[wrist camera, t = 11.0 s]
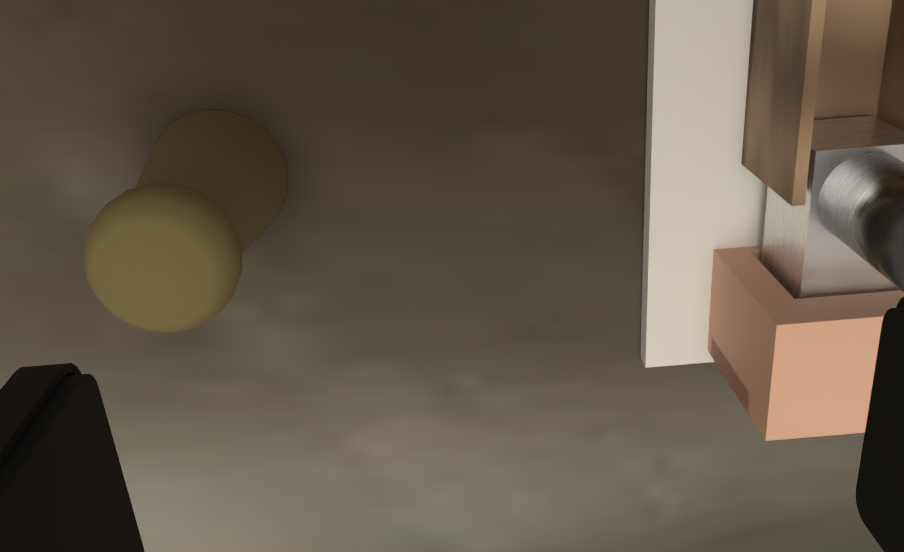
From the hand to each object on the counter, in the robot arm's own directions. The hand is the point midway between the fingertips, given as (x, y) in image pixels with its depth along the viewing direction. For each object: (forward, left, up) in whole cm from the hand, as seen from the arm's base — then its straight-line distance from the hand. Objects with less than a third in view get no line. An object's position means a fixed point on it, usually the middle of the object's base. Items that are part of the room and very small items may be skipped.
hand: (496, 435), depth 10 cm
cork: (+5, -10, -28) cm, 31 cm away
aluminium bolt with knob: (+9, +16, -26) cm, 32 cm away
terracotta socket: (+12, +16, -27) cm, 34 cm away
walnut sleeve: (+1, +16, -27) cm, 32 cm away
